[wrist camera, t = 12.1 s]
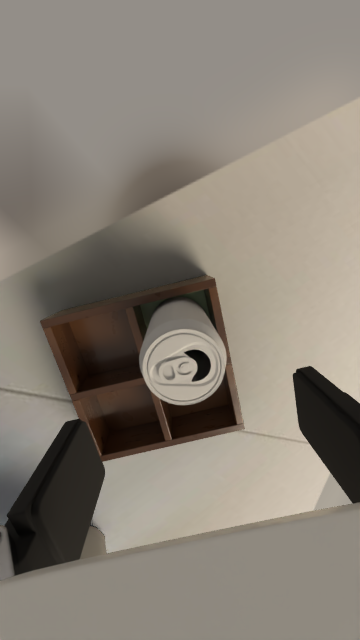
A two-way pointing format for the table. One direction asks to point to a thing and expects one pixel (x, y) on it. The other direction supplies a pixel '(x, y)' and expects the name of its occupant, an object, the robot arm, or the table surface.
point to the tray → (135, 373)
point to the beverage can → (182, 353)
